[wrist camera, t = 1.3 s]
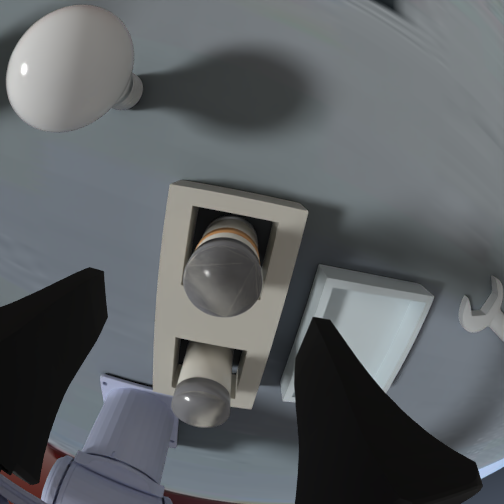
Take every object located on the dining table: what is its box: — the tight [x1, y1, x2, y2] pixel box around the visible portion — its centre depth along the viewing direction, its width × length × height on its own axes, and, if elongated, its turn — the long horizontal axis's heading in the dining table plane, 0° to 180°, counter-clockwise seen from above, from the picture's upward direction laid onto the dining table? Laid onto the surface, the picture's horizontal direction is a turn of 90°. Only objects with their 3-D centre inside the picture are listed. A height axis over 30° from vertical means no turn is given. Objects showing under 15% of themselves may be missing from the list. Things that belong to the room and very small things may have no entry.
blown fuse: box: [183, 214, 262, 317], centre depth 17 cm, size 4×4×7 cm
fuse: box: [171, 340, 234, 428], centre depth 20 cm, size 4×4×7 cm
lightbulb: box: [6, 5, 143, 133], centre depth 12 cm, size 6×6×11 cm
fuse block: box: [153, 180, 309, 409], centre depth 20 cm, size 16×8×3 cm, turn 168°
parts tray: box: [280, 264, 434, 402], centre depth 22 cm, size 11×9×2 cm
